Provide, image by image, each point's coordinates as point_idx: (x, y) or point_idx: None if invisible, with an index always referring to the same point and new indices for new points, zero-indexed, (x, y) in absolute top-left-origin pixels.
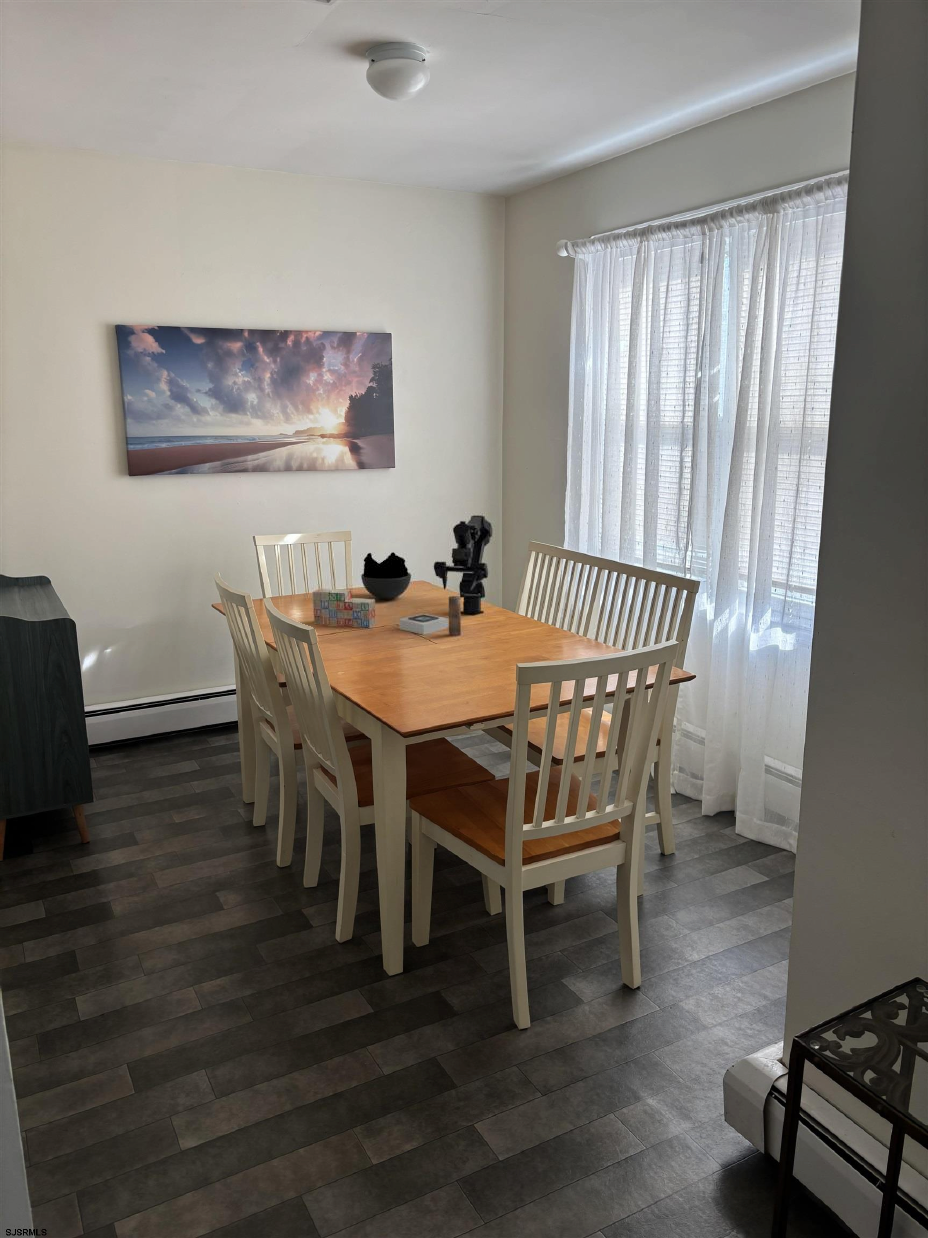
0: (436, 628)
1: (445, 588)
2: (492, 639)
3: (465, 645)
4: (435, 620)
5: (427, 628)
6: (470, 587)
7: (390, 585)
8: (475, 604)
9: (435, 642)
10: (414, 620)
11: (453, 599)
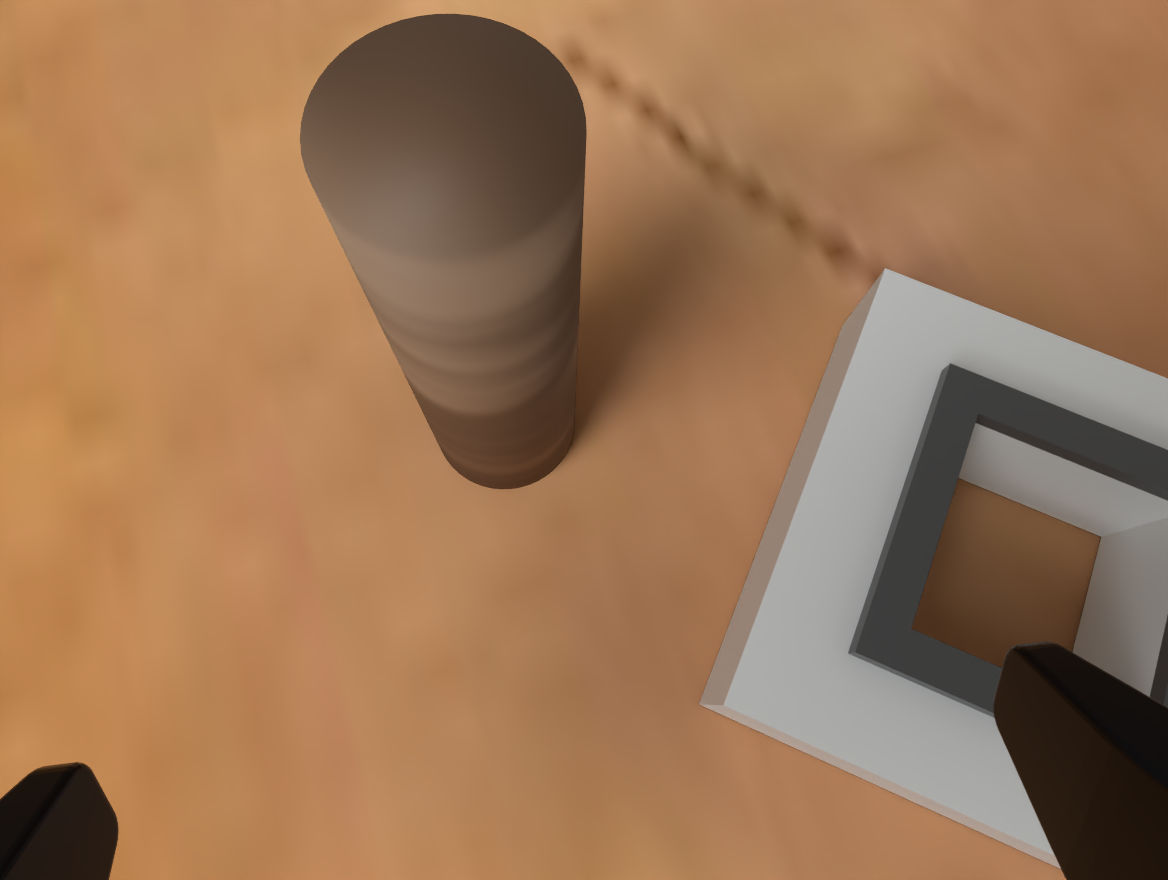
0: (781, 504)
1: (1013, 761)
2: (28, 348)
3: (275, 67)
4: (845, 530)
5: (842, 353)
6: (30, 789)
7: None
8: None
9: (595, 88)
10: (1112, 439)
11: (435, 34)
